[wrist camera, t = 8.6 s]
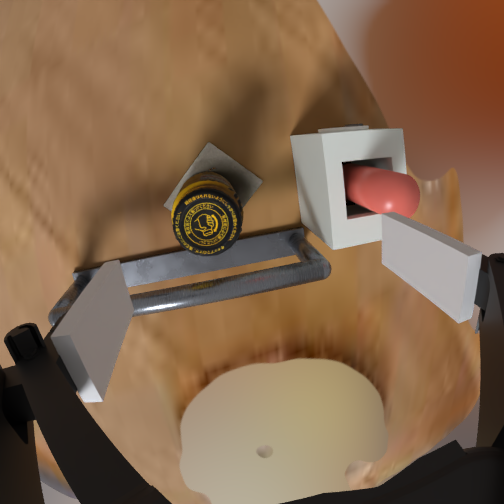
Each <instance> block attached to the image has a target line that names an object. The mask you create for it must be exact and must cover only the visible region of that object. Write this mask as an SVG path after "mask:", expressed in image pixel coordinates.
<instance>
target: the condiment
mask: <svg viewBox="0 0 504 504" xmlns="http://www.w3.org/2000/svg"><path fill="white" fill-rule="evenodd" d="M214 167H215V168H216V169H212V168H214ZM209 169H212V170H210V171H209ZM262 182H263V181H262V180H261V179H259V178H258V177H257V176H255V175H254V174H253V173H251V172H250V171H248V170H247V169H246V168H244V167H243V166H242V165H240V164H239V163H238V162H236V161H235V160H233V159H232V158H231V157H229V156H228V155H226V154H225V153H224V152H222V151H221V150H220V149H218V148H217V147H215V146H214V145H212V144H211V143H210V142H208V143H207V145H206V146H205V147H204V149H203V150H202V151H201V153H200V154H199V156H198V157H197V158H196V160H195V161H194V162H193V164H192V165H191V167H190V168H189V169H188V171H187V172H186V174H185V175H184V176H183V178H182V179H181V181H180V182H179V184H178V185H177V186H176V188H175V189H174V191H173V192H172V194H171V195H170V197H169V198H168V200H167V201H166V203H165V204H164V207H166V208H167V209H169V210H170V211H172V213H171V218H172V224H173V231H174V234H175V236H176V239H177V240H178V241H179V243H180V245H181V246H182V247H183V248H184V249H186V250H187V251H189V252H190V253H192V254H195V255H200V256H216V255H219V254H221V253H223V252H225V251H226V250H228V249H230V248H231V247H232V246H233V244H234V243H235V242H236V240H237V239H238V238H239V234H240V232H241V231H242V228H241V226H242V222H243V207H244V206H245V204H246V203H247V202H248V200H249V199H250V198H251V196H252V195H253V194H254V192H255V191H256V190H257V189H258V187H259V186H260V185H261V183H262Z"/></svg>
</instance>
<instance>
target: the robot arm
mask: <svg viewBox="0 0 504 504" xmlns="http://www.w3.org/2000/svg"><path fill="white" fill-rule="evenodd" d="M381 219H382V264H383V265H385V266H386V267H387V268H389V269H390V270H391V271H393V272H394V273H395V274H397V275H398V276H399V277H401V278H402V279H403V280H404V281H406V282H407V283H408V284H410V285H411V286H412V287H414V288H415V289H416V290H417V291H419V292H420V293H421V294H423V295H424V296H425V297H426V298H428V299H429V300H430V301H431V302H433V303H434V304H435V305H437V306H438V307H439V308H440V309H441V310H443V311H444V312H445V313H446V314H448V315H449V316H450V317H451V318H453V319H454V320H455V321H456V322H457V323H461V322H463V321H466V320H468V319H470V318H472V314H473V309H474V304H476V305H478V306H479V307H480V313H479V317H478V322H477V326H476V331H475V333H478V330H479V331H480V357H481V382H480V408H479V423H478V433H477V442H476V447H472V448H466V449H462V447H461V446H460V445H459V443H458V442H457V441H456V440H454V441H452V442H450V443H448V444H446V445H444V446H443V447H441V448H439V449H437V450H435V451H433V452H431V453H429V454H427V455H424V456H422V457H420V458H419V459H417V460H416V461H414V462H413V463H412V464H411V465H409V466H408V467H406V468H405V469H404V470H402V471H401V472H400V473H398V474H397V475H395V476H394V477H393V478H391V479H390V480H388V481H387V482H385V483H384V484H382V485H380V486H378V487H374V488H368V489H360V490H352V491H343V492H332V493H322V494H318V495H315V496H311V497H307V498H303V499H299V500H294V501H290V502H285V503H280V504H504V253H495V254H491V255H490V256H489V257H487V256H485V255H483V254H482V252H480V251H478V250H476V249H474V248H472V247H470V246H468V245H466V244H464V243H462V242H460V241H458V240H456V239H454V238H452V237H450V236H447V235H445V234H443V233H441V232H439V231H437V230H434V229H432V228H430V227H428V226H426V225H423V224H421V223H419V222H417V221H414V220H412V219H410V218H407V217H405V216H403V215H400V214H398V213H396V212H388V213H382V214H381ZM133 313H134V308H133V305H132V302H131V298H130V295H129V292H128V289H127V285H126V282H125V279H124V275H123V272H122V268H121V265H120V261H119V260H114V261H109V262H105V263H104V264H103V265H102V267H101V268H100V269H99V270H98V272H97V273H96V274H95V276H94V277H93V278H92V280H91V281H90V282H89V284H88V285H87V286H86V288H85V289H84V290H83V292H82V293H81V294H80V296H79V297H78V298H77V300H76V301H75V302H74V304H73V305H72V307H71V308H70V309H69V311H67V312H66V313H65V314H63V315H62V316H61V317H59V318H58V320H57V321H56V323H55V324H54V326H53V327H52V328H51V330H50V332H49V333H48V334H47V335H46V337H45V338H44V340H43V338H42V336H41V334H40V332H39V329H38V327H37V325H36V324H34V323H26V324H22V325H20V326H17V327H16V328H14V329H12V330H11V331H10V332H9V333H7V335H6V336H5V338H4V342H5V344H6V346H7V348H8V350H9V352H10V354H11V356H12V358H13V360H14V362H15V364H16V365H15V366H11V367H8V368H4V369H2V367H1V365H0V504H45V503H44V498H43V493H42V488H41V482H40V476H39V469H38V462H37V455H36V446H35V436H34V424H33V420H37V423H38V425H39V427H40V430H41V432H42V434H43V436H44V438H45V440H46V442H47V444H48V447H49V449H50V451H51V453H52V455H53V456H54V458H55V460H56V462H57V464H58V466H59V468H60V470H61V471H62V473H63V475H64V477H65V479H66V480H67V482H68V484H69V486H70V487H71V489H72V491H73V492H74V494H75V495H76V497H77V499H78V500H79V502H80V503H81V504H172V503H171V502H169V501H168V500H167V499H166V498H165V497H164V496H163V495H162V494H161V493H160V492H159V491H158V490H157V489H156V488H155V487H153V486H150V485H149V484H148V483H147V482H146V481H145V480H144V479H143V478H142V477H141V475H140V474H139V473H138V472H137V471H136V470H135V469H134V468H133V467H132V466H131V464H130V463H129V462H128V461H127V460H126V459H125V458H124V456H123V455H122V454H121V453H120V452H119V451H118V449H117V448H116V447H115V446H114V445H113V443H112V442H111V441H110V440H109V438H108V437H107V436H106V435H105V433H104V432H103V431H102V429H101V428H100V427H99V426H98V424H97V423H96V422H95V420H94V419H93V418H92V416H91V415H90V413H89V412H88V411H87V409H86V408H85V407H84V405H83V404H82V402H81V401H80V399H79V398H78V396H77V395H76V391H78V392H79V394H80V396H81V398H82V399H83V401H84V402H103V400H104V396H105V393H106V390H107V387H108V384H109V381H110V378H111V375H112V372H113V369H114V366H115V363H116V360H117V357H118V354H119V351H120V348H121V345H122V343H123V340H124V337H125V334H126V331H127V329H128V326H129V323H130V321H131V318H132V315H133Z"/></svg>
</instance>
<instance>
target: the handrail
mask: <svg viewBox="0 0 504 504" xmlns="http://www.w3.org/2000/svg"><path fill="white" fill-rule="evenodd" d="M291 255H296V256H297V257H298V259H299V260H300V261H301V262H298V263H293V264H289V265H284V266H279V267H274V268H269V269H264V270H259V271H254V272H249V273H244V274H239V275H234V276H229V277H224V278H218V279H213V280H208V281H203V282H198V283H192V284H187V285H182V286H177V287H171V288H166V289H161V290H155V291H150V292H144V293H139V294H133V295H130V298H131V302H132V305H133V308H134V313H133V315H132V317H135V316H141V315H147V314H153V313H158V312H164V311H170V310H175V309H181V308H187V307H192V306H197V305H203V304H208V303H213V302H219V301H224V300H229V299H234V298H239V297H244V296H249V295H254V294H259V293H264V292H268V291H273V290H278V289H283V288H287V287H292V286H297V285H301V284H306V283H310V282H315V281H319V280H323V279H326V278H327V277H328V276H329V275H330V273H331V265H330V263H329V262H328V261H327V260H326V259H325V258H324V257H323V256H322V255H321V254H320V253H319V252H318V251H317V250H316V249H315V248H314V247H313V246H312V245H311V244H310V243H309V242H308V241H307V240H306V239H305V238H304V229H303V227H298V228H292V229H287V230H282V231H276V232H271V233H266V234H260V235H255V236H250V237H245V238H240V239H237V240H236V242H235V243H234V244H233V246H232V247H231V248H230V249H228V250H226V251H225V252H223V253H221V254H219V255H216V256H200V255H195V254H192V253H190V252H189V251H187V250H186V249H183V250H178V251H173V252H168V253H163V254H158V255H153V256H148V257H143V258H139V259H134V260H129V261H124V262H120V265H121V268H122V272H123V275H124V279H125V282H126V285H127V287H132V286H137V285H142V284H148V283H153V282H158V281H163V280H169V279H174V278H179V277H184V276H189V275H195V274H200V273H205V272H210V271H215V270H220V269H226V268H231V267H236V266H241V265H246V264H251V263H256V262H261V261H266V260H271V259H276V258H281V257H286V256H291ZM101 267H102V266H100V267H95V268H90V269H86V270H81V271H76V272H73V273H72V275H73V278H74V282H73V284H72V285H71V286H70V287H69V288H68V290H67V291H66V292H65V293H64V295H63V296H62V297H61V298H60V300H59V301H58V302H57V303H56V305H55V306H54V307H53V309H52V310H51V311H50V313H49V316H48V320H49V322H50V324H51V325H52V326H54V324H55V323H56V321H57V320H58V318H59V317H61V316H62V315H63V314H65V313H66V312H67V311H69V309H70V308H71V307H72V305H73V304H74V302H75V301H76V300H77V298H78V297H79V296H80V294H81V293H82V292H83V290H84V289H85V288H86V286H87V285H88V284H89V282H90V281H91V280H92V278H93V277H94V276H95V274H96V273H97V272H98V270H99V269H100V268H101Z"/></svg>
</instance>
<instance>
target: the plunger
mask: <svg viewBox="0 0 504 504" xmlns="http://www.w3.org/2000/svg"><path fill="white" fill-rule="evenodd" d="M342 169H343V178H344V189H345V199H347V200H349V201H352V202H354V203H356V204H358V205H361V206H363V207H365V208H367V209H370V210H372V211H374V212H376V213H378V214H380V215H381V214H382V213H388V212H396V213H398V214H400V215H403V216H405V217H407V218H410V217H411V216H412V215H413V214H414V213H415V211H416V209H417V207H418V205H419V200H420V191H419V187H418V185H417V183H416V181H415V180H414V179H413V178H412V177H411V176H409V175H407V174H403V173H399V172H394V171H389V170H384V169H379V168H374V167H369V166H364V165H359V164H353V163H349V164H346V165H344V166H342Z"/></svg>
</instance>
